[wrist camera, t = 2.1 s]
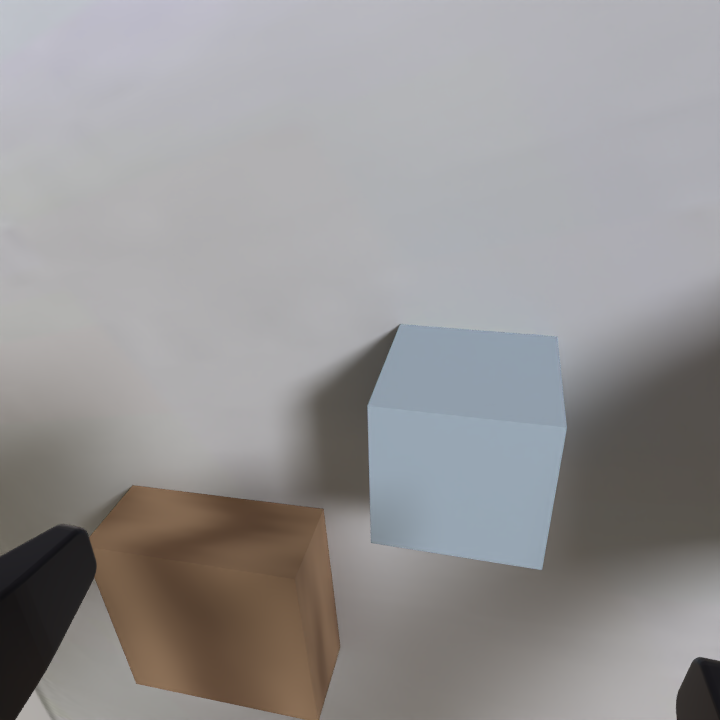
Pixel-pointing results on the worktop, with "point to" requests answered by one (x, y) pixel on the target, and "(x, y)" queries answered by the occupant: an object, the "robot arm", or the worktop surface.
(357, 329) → the worktop surface
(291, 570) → the walnut block
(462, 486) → the slate cube
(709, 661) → the robot arm
